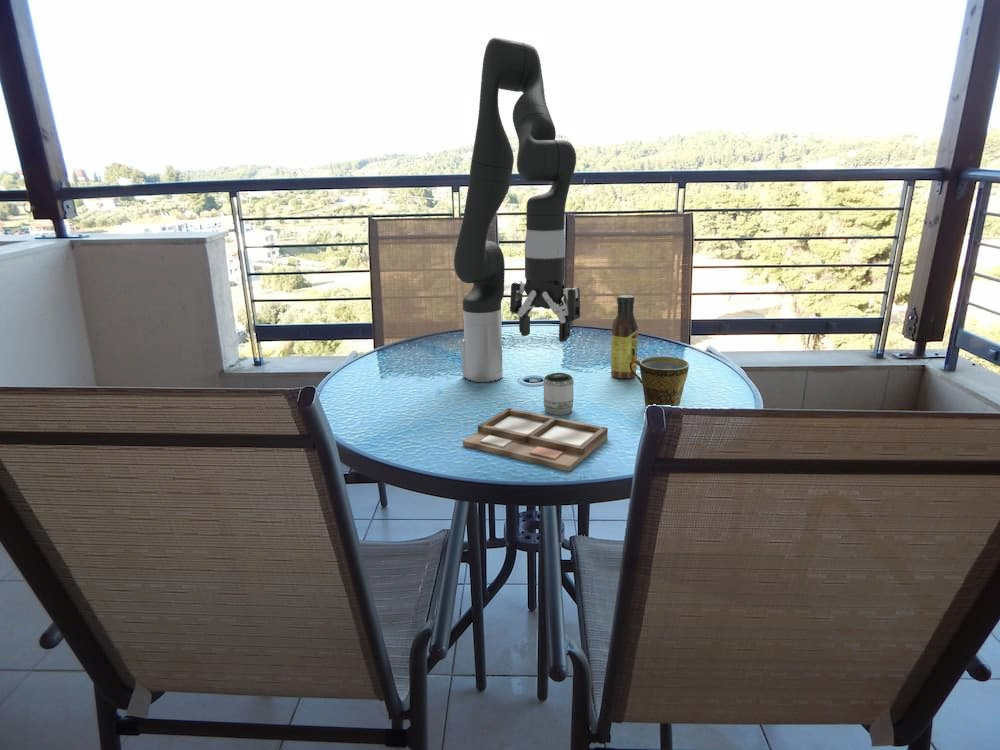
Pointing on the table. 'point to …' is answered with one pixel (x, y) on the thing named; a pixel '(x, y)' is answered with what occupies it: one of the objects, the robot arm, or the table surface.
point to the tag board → (537, 438)
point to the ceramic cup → (662, 379)
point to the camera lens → (558, 393)
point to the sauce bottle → (624, 339)
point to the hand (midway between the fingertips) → (543, 338)
